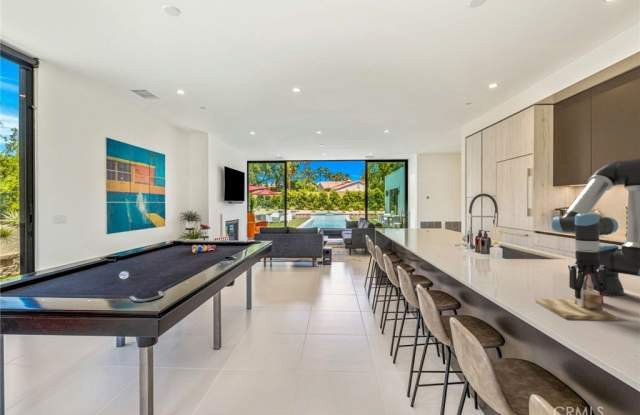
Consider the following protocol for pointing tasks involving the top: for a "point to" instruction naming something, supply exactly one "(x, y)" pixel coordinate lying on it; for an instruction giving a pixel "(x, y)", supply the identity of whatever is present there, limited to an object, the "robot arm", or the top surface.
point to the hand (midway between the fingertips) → (588, 306)
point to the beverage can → (590, 284)
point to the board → (573, 310)
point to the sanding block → (591, 300)
